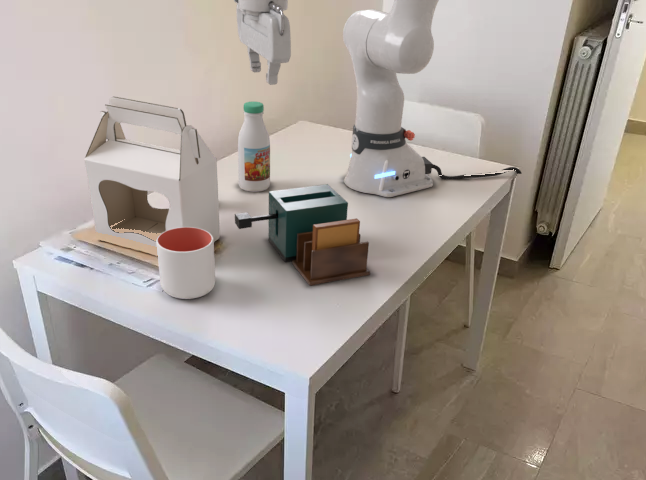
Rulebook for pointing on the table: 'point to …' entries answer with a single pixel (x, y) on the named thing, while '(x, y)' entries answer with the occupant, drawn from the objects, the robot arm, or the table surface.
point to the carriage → (251, 219)
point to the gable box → (150, 174)
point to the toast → (335, 234)
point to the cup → (186, 262)
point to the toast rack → (330, 260)
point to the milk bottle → (253, 150)
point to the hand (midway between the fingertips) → (263, 77)
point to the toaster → (301, 214)
